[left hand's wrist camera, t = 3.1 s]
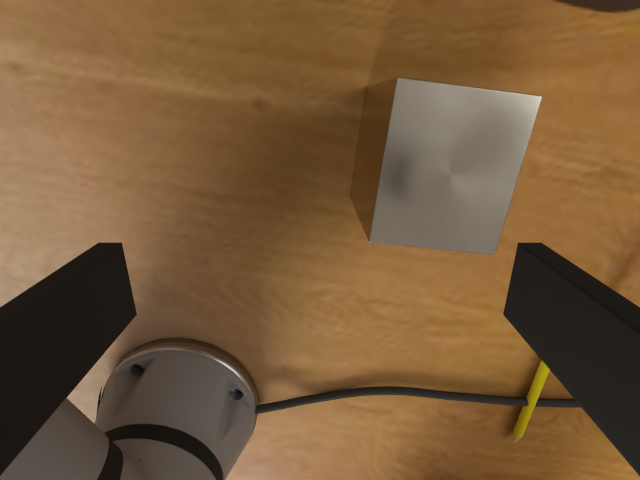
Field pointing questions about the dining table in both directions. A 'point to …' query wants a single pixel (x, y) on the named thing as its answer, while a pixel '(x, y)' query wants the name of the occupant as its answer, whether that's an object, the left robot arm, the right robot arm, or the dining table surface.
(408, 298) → the dining table surface
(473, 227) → the block
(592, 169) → the dining table surface
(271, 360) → the dining table surface
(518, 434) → the pencil
